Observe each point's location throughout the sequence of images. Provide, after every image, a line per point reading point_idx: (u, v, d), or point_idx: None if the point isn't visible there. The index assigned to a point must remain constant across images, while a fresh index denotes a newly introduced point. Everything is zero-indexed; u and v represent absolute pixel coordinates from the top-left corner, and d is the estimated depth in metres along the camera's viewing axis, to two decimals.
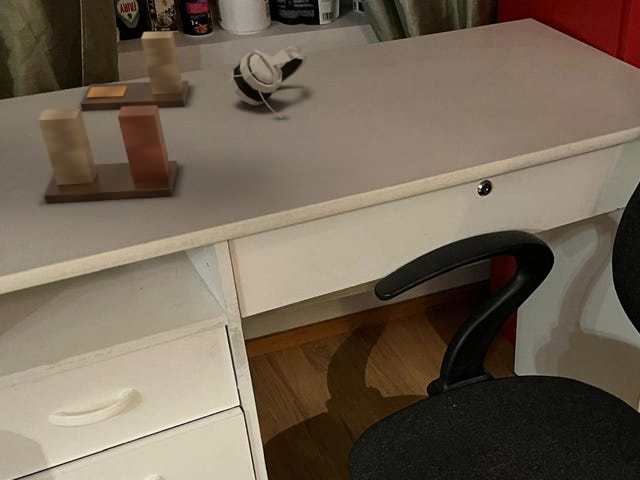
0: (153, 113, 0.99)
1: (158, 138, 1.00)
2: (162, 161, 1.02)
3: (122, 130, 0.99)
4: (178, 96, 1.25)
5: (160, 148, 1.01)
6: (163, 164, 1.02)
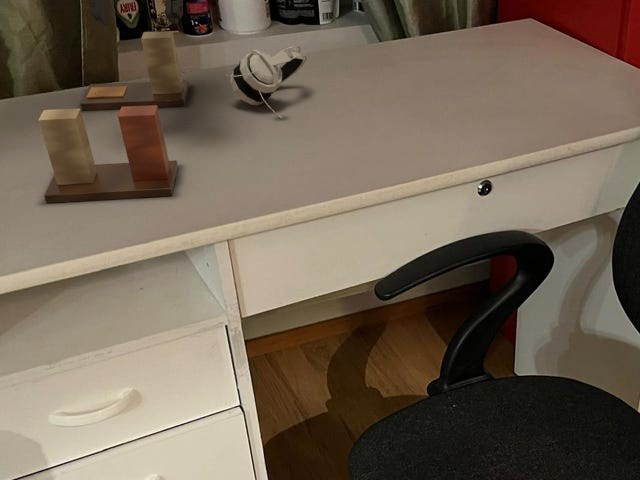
0: (153, 113, 0.99)
1: (158, 138, 1.00)
2: (162, 161, 1.02)
3: (122, 130, 0.99)
4: (178, 96, 1.25)
5: (160, 148, 1.01)
6: (163, 164, 1.02)
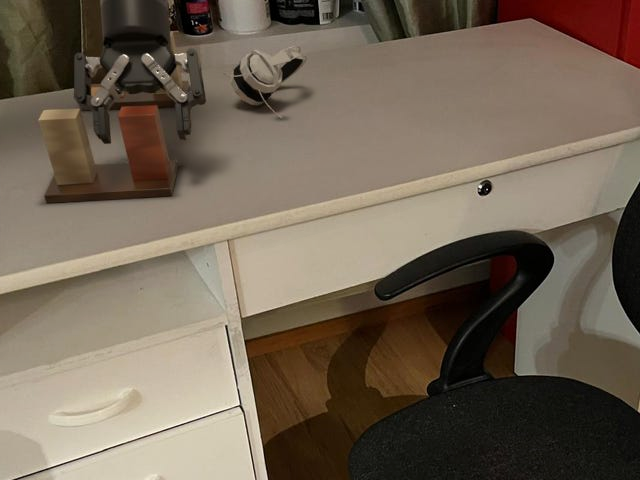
0: (153, 113, 0.99)
1: (158, 138, 1.00)
2: (162, 161, 1.02)
3: (122, 130, 0.99)
4: None
5: (160, 148, 1.01)
6: (163, 164, 1.02)
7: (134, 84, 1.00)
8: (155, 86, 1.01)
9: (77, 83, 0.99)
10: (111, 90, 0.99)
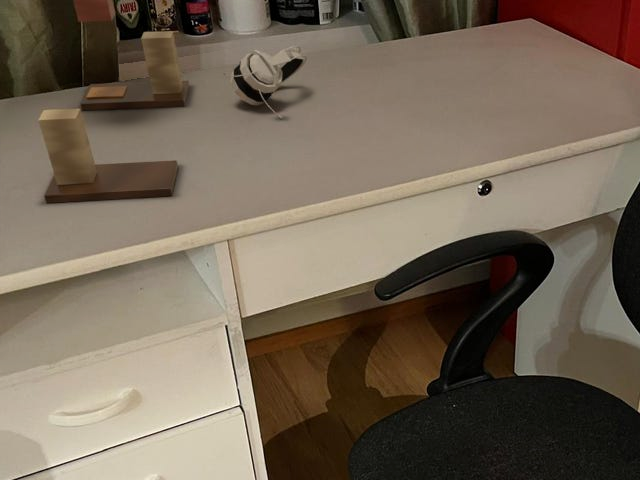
0: None
1: None
2: (105, 2, 1.08)
3: None
4: (178, 96, 1.25)
5: None
6: (106, 5, 1.08)
7: None
8: None
9: None
10: None
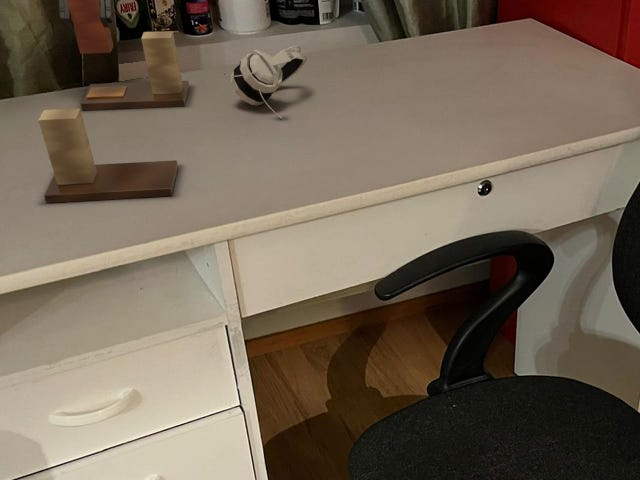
0: None
1: None
2: (105, 36, 1.19)
3: (69, 6, 1.16)
4: (178, 96, 1.25)
5: None
6: (105, 38, 1.19)
7: None
8: None
9: None
10: None
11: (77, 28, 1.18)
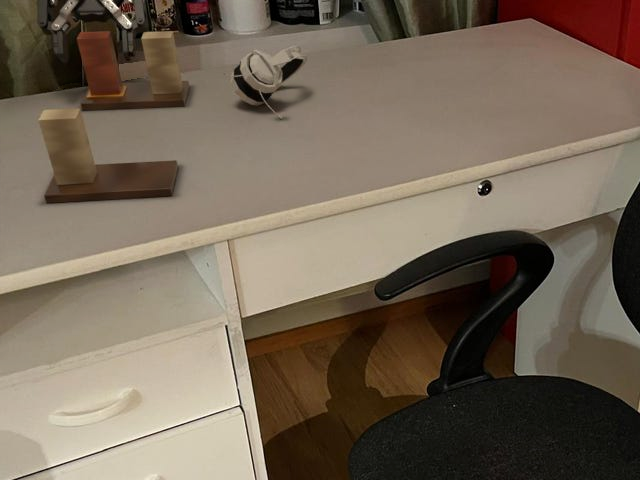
0: (106, 36, 1.20)
1: (111, 58, 1.21)
2: (115, 78, 1.23)
3: (80, 50, 1.20)
4: (178, 96, 1.25)
5: (112, 67, 1.22)
6: (115, 81, 1.23)
7: (88, 13, 1.21)
8: (105, 15, 1.21)
9: (40, 11, 1.20)
10: (68, 17, 1.20)
11: (88, 71, 1.22)
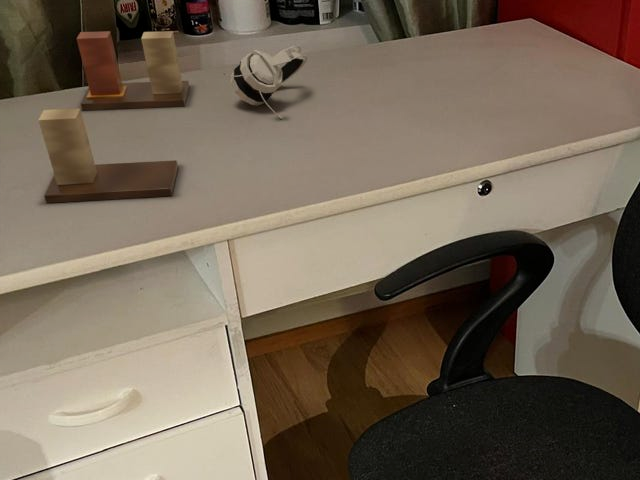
0: (106, 36, 1.20)
1: (111, 58, 1.21)
2: (115, 78, 1.23)
3: (80, 50, 1.20)
4: (178, 96, 1.25)
5: (112, 67, 1.22)
6: (115, 81, 1.23)
7: None
8: None
9: None
10: None
11: (88, 71, 1.22)
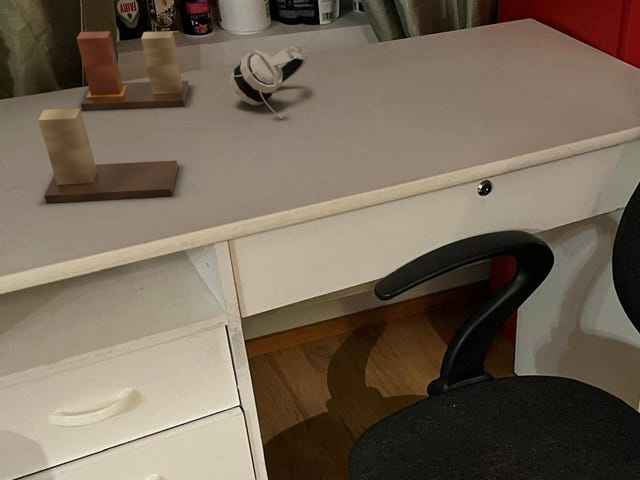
0: (106, 36, 1.20)
1: (111, 58, 1.21)
2: (115, 78, 1.23)
3: (80, 50, 1.20)
4: (178, 96, 1.25)
5: (112, 67, 1.22)
6: (115, 81, 1.23)
7: None
8: None
9: None
10: None
11: (88, 71, 1.22)
